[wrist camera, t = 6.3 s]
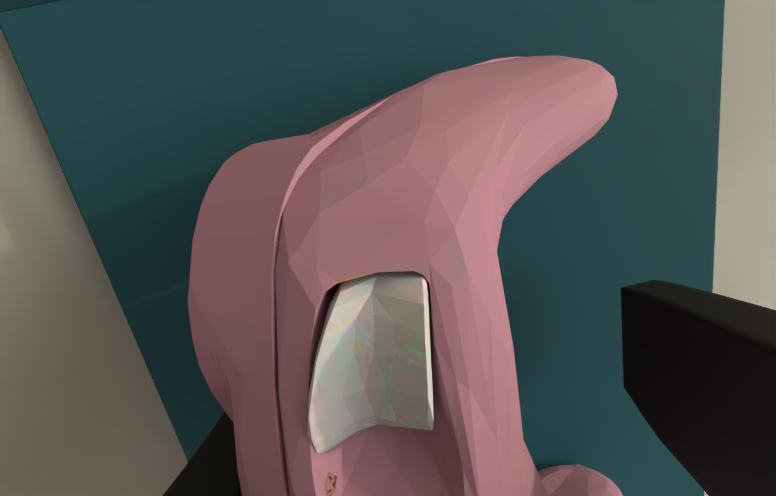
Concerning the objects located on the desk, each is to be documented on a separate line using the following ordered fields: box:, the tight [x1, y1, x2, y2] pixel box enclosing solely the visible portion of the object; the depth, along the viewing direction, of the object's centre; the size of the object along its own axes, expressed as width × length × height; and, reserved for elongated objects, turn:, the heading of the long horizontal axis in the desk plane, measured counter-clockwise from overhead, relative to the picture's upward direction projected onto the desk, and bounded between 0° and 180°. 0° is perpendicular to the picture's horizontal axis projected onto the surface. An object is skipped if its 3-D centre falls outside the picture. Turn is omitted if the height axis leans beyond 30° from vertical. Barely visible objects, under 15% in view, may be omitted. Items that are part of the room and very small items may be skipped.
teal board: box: [0, 0, 725, 496], centre depth 10 cm, size 11×15×1 cm
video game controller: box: [188, 55, 623, 496], centre depth 8 cm, size 10×5×7 cm, turn 11°
